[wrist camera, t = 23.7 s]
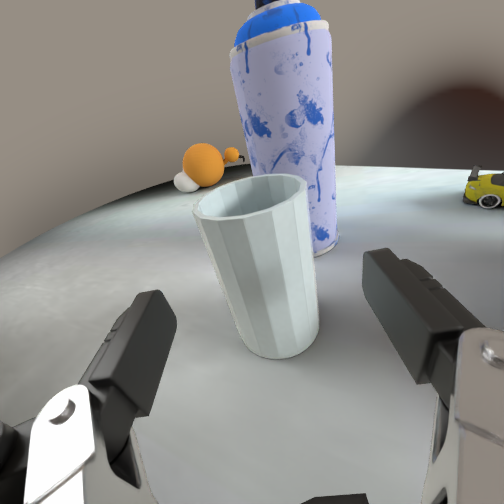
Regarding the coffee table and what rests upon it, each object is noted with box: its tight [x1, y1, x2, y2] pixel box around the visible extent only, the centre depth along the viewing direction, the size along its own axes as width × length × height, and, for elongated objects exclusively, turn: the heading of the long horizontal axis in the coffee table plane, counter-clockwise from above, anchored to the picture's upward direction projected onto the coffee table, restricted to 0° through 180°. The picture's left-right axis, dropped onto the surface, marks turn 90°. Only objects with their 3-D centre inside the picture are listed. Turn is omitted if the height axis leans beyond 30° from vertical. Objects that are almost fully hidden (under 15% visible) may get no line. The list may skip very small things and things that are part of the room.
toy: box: [174, 143, 245, 192], centre depth 52 cm, size 9×10×15 cm
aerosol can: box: [230, 0, 339, 257], centre depth 21 cm, size 8×8×20 cm
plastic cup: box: [192, 174, 319, 359], centre depth 15 cm, size 6×6×10 cm
